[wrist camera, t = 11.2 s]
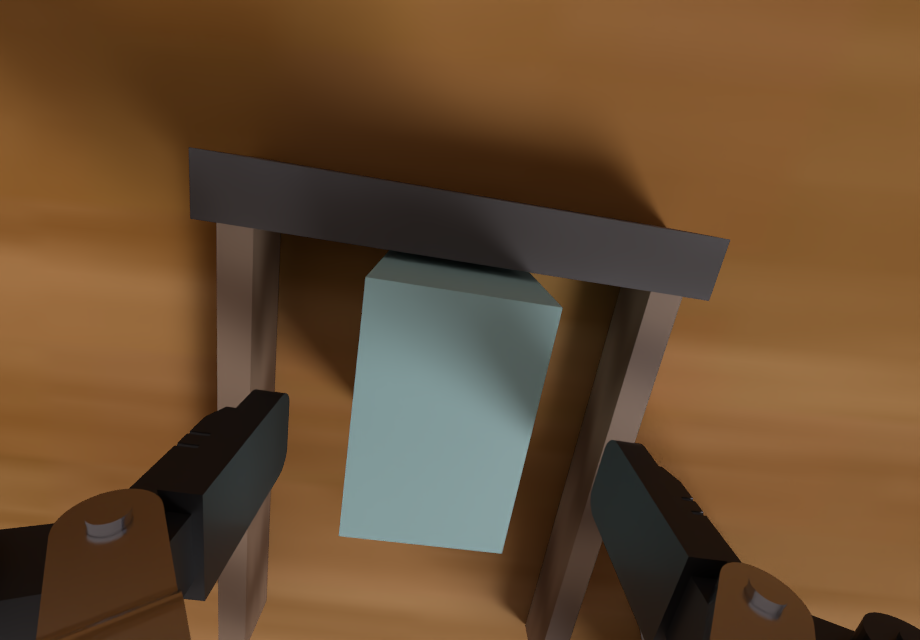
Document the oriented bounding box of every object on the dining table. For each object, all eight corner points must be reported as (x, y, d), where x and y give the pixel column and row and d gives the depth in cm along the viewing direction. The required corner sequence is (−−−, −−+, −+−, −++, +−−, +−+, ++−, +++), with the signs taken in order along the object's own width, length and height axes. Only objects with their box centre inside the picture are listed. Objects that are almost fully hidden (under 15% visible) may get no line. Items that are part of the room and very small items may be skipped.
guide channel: (250, 156, 16) (188, 147, 12) (667, 227, 17) (730, 239, 13) (243, 598, 22) (200, 683, 19) (546, 627, 24) (565, 712, 20)
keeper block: (397, 241, 17) (365, 277, 10) (518, 261, 18) (562, 307, 11) (375, 415, 19) (338, 536, 13) (483, 430, 20) (501, 553, 13)
